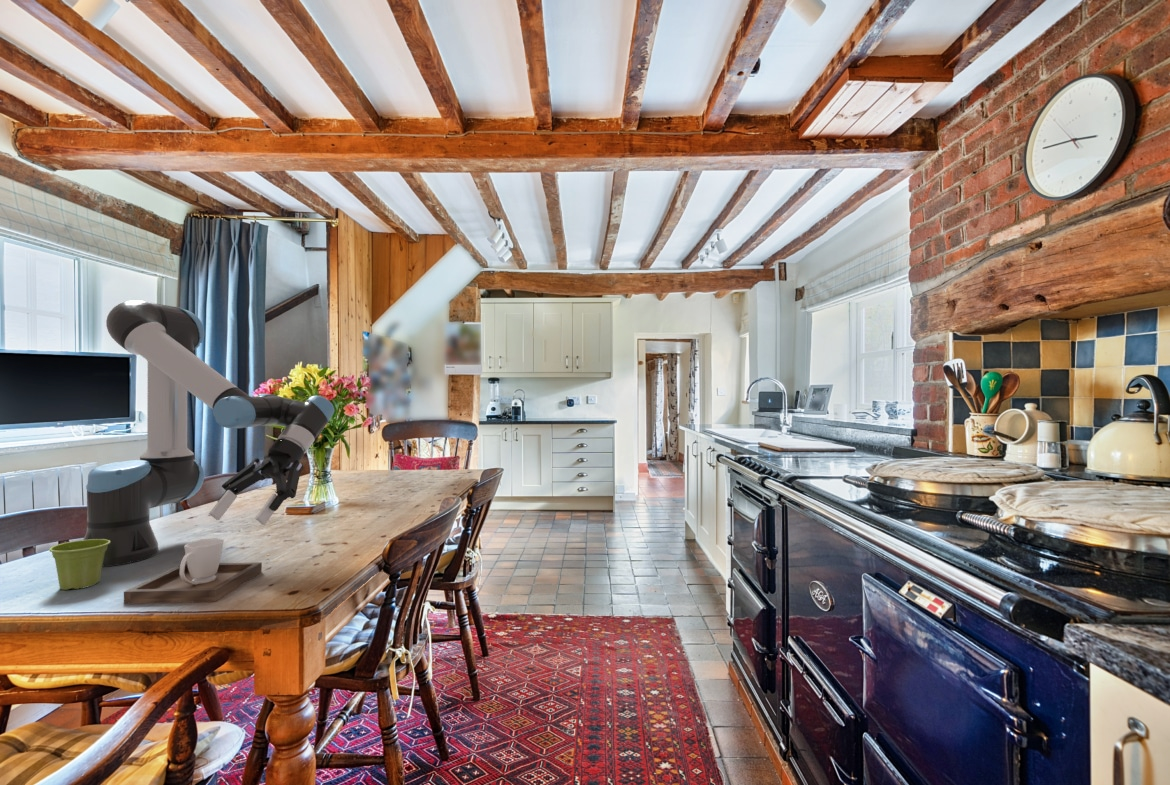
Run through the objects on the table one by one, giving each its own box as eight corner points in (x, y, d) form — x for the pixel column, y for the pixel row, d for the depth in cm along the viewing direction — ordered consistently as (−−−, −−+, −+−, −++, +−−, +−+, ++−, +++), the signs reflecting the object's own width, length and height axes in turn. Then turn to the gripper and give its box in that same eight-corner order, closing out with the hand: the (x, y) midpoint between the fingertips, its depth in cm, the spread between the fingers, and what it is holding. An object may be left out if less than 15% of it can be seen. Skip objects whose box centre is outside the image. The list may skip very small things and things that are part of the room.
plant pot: (95, 575, 119) (95, 536, 119) (119, 581, 115) (119, 541, 115) (39, 589, 110) (39, 547, 110) (64, 596, 107) (64, 553, 107)
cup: (231, 574, 117) (231, 538, 117) (198, 591, 107) (198, 551, 107) (199, 574, 117) (199, 538, 117) (163, 591, 107) (164, 551, 107)
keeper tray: (123, 603, 103) (123, 591, 103) (183, 573, 120) (183, 563, 120) (215, 601, 104) (215, 589, 104) (261, 572, 121) (261, 562, 121)
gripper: (339, 458, 134) (289, 532, 119) (261, 453, 141) (206, 523, 126) (323, 438, 128) (269, 514, 114) (243, 435, 136) (184, 506, 121)
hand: (236, 519), depth 120 cm, fingers open, 13 cm apart
